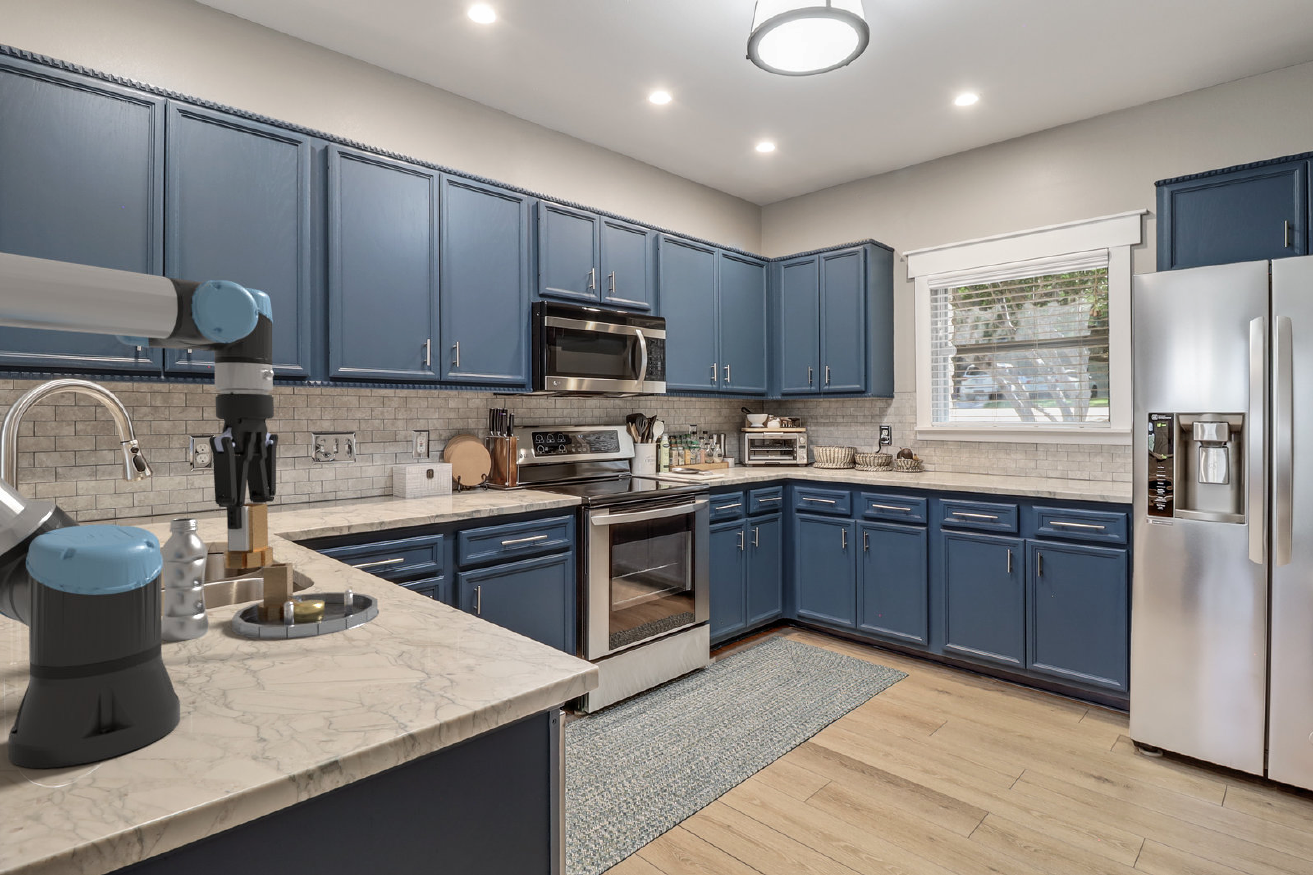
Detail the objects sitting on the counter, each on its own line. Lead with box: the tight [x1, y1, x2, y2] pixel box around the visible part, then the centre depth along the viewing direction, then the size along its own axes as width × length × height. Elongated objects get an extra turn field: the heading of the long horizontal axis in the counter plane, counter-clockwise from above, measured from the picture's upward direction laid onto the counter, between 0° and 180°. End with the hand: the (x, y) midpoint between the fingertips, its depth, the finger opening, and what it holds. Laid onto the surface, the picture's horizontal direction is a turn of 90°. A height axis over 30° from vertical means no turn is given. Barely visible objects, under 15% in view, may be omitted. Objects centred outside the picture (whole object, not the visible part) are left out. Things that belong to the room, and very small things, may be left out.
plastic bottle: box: [160, 517, 210, 642], centre depth 111 cm, size 6×7×20 cm
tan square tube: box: [258, 562, 299, 620], centre depth 123 cm, size 6×6×9 cm
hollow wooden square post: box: [222, 503, 274, 570], centre depth 104 cm, size 6×6×9 cm
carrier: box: [231, 589, 380, 640], centre depth 121 cm, size 23×23×6 cm
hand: (248, 546), depth 104 cm, fingers closed on hollow wooden square post, 4 cm apart
